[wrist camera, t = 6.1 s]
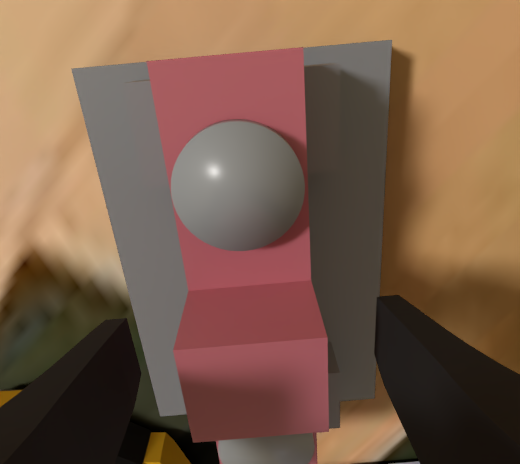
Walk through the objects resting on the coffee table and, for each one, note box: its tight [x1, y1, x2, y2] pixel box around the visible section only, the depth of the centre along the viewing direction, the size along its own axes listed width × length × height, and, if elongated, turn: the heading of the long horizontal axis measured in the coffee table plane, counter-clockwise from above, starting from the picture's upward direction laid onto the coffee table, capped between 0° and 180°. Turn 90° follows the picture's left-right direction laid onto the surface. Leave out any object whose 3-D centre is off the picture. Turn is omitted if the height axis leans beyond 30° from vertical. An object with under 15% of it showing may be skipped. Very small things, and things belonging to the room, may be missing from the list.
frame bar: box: [147, 47, 329, 464], centre depth 11 cm, size 15×4×4 cm, turn 5°
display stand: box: [72, 40, 392, 429], centre depth 15 cm, size 15×10×3 cm, turn 5°
